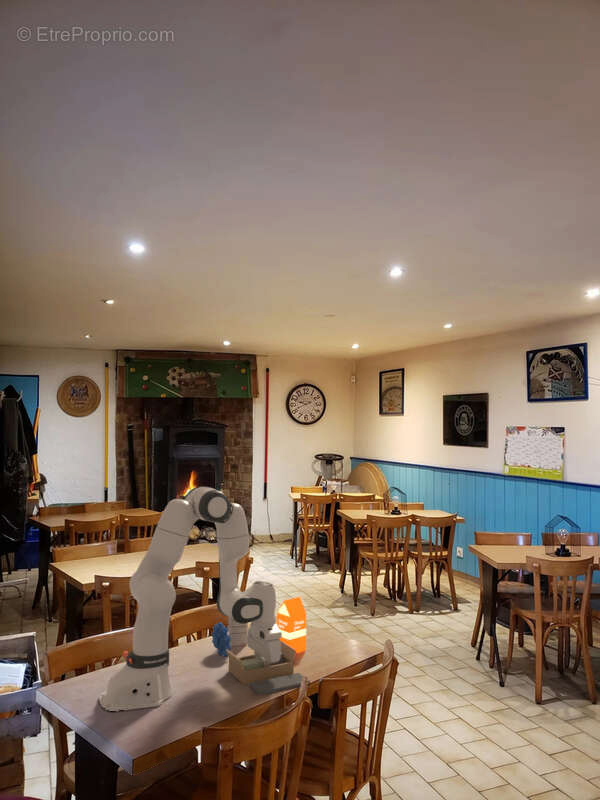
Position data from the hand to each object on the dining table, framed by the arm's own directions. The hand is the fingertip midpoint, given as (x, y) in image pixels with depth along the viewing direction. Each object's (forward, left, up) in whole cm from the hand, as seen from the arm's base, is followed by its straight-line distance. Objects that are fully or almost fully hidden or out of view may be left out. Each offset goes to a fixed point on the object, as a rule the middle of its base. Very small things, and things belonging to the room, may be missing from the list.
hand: (262, 667), depth 215 cm
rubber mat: (0, -13, -2) cm, 13 cm away
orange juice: (+19, +14, -2) cm, 24 cm away
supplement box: (+4, +32, -2) cm, 32 cm away
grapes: (-8, +22, -2) cm, 23 cm away
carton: (-1, 0, -2) cm, 2 cm away
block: (-1, 0, -2) cm, 2 cm away
